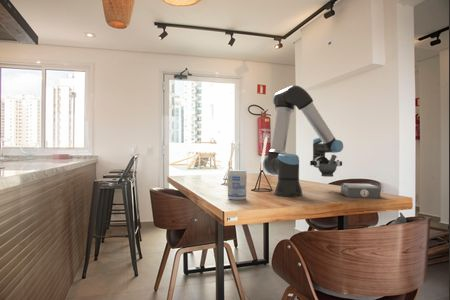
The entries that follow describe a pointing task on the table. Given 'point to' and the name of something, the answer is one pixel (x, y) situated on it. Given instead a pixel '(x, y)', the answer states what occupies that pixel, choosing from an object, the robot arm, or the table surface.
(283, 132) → the robot arm
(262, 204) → the table surface
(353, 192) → the kitchen scale
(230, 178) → the supplement tub
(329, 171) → the mortar and pestle
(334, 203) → the table surface
